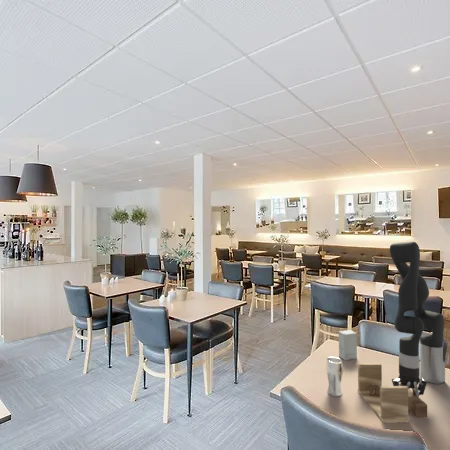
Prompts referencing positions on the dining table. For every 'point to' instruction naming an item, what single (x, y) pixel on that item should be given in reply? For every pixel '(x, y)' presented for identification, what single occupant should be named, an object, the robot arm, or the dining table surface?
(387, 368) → the dining table surface
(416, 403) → the shelf board
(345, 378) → the dining table surface
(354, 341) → the skincare box
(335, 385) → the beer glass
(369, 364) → the peg jig
